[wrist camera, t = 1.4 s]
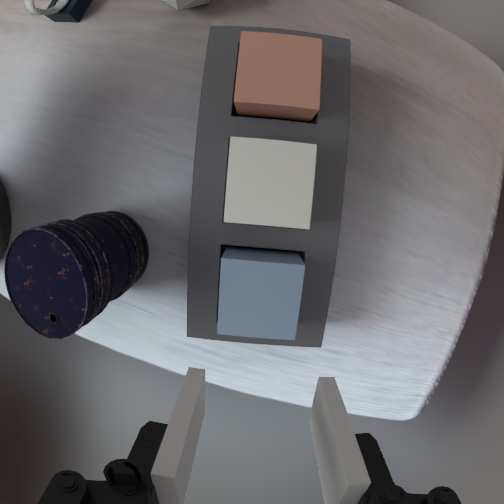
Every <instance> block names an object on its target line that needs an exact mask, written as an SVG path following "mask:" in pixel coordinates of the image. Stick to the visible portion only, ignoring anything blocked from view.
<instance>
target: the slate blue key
mask: <svg viewBox="0 0 504 504" xmlns="http://www.w3.org/2000/svg"><path fill="white" fill-rule="evenodd" d="M304 271H305V264H304V262H303V260H302V259H301V257H300V255H299V254H298V253H294V252H282V251H270V250H258V249H246V248H235V247H227V248H226V250H225V252H224V254H223V256H222V257H221V269H220V286H219V305H218V326H217V334H221V335H232V336H243V337H255V338H268V339H283V340H295V336H296V330H297V323H298V316H299V309H300V302H301V294H302V287H303V279H304Z"/></svg>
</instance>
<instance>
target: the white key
mask: <svg viewBox="0 0 504 504" xmlns="http://www.w3.org/2000/svg"><path fill="white" fill-rule="evenodd" d="M316 152H317V145H316V144H309V143H300V142H291V141H282V140H271V139H259V138H246V137H230V146H229V158H228V170H227V182H226V195H225V208H224V222H228V223H241V224H253V225H265V226H276V227H287V228H298V229H309V228H310V219H311V209H312V199H313V188H314V177H315V165H316Z"/></svg>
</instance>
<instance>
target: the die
mask: <svg viewBox="0 0 504 504" xmlns="http://www.w3.org/2000/svg"><path fill="white" fill-rule="evenodd" d="M163 1H165V2H166V3H168V4H169V5H170V6H172V7H173V8H175V9H176V10H177V11H179V10H182V9H186V8H190V7H195V6H199V5H203V4H208V3H209V2H210V0H163Z"/></svg>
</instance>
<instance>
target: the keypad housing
mask: <svg viewBox="0 0 504 504" xmlns="http://www.w3.org/2000/svg"><path fill="white" fill-rule="evenodd" d="M241 31H252V32H267V33H279V34H289V35H297V36H305V37H312V38H319V39H322V60H321V86H320V106H319V111H318V112H317V113H316V115H315V116H314V117H313V118H312V120H311V121H310V122H308V123H303V122H294V121H285V120H275V119H264V118H251V117H237V111H236V108H235V105H234V93H235V83H236V74H237V65H238V55H239V47H240V38H241ZM349 99H350V40H349V39H344V38H339V37H334V36H328V35H322V34H316V33H309V32H301V31H293V30H284V29H274V28H260V27H240V26H210V32H209V39H208V46H207V53H206V60H205V67H204V75H203V83H202V91H201V99H200V108H199V117H198V127H197V137H196V148H195V159H194V172H193V185H192V200H191V216H190V235H189V258H188V293H187V337H194V338H202V339H211V340H221V341H231V342H242V343H254V344H268V345H283V346H302V347H321V345H322V340H323V335H324V329H325V324H326V318H327V312H328V306H329V300H330V294H331V288H332V281H333V275H334V268H335V261H336V253H337V246H338V238H339V230H340V221H341V212H342V202H343V192H344V181H345V170H346V156H347V142H348V124H349ZM230 137H246V138H259V139H271V140H282V141H291V142H300V143H309V144H316V145H317V152H316V165H315V177H314V188H313V199H312V209H311V219H310V228H309V229H298V228H287V227H276V226H265V225H253V224H241V223H228V222H224V208H225V195H226V182H227V170H228V158H229V146H230ZM226 245H236V246H248V247H260V248H272V249H284V250H295V251H297V253H298V254H299V255H300V257H301V259H302V260H303V262H304V264H305V271H304V279H303V287H302V294H301V302H300V309H299V316H298V323H297V330H296V336H295V340H283V339H268V338H255V337H243V336H232V335H221V334H217V326H218V305H219V286H220V269H221V257H222V256H223V254H224V252H225V250H226Z"/></svg>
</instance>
